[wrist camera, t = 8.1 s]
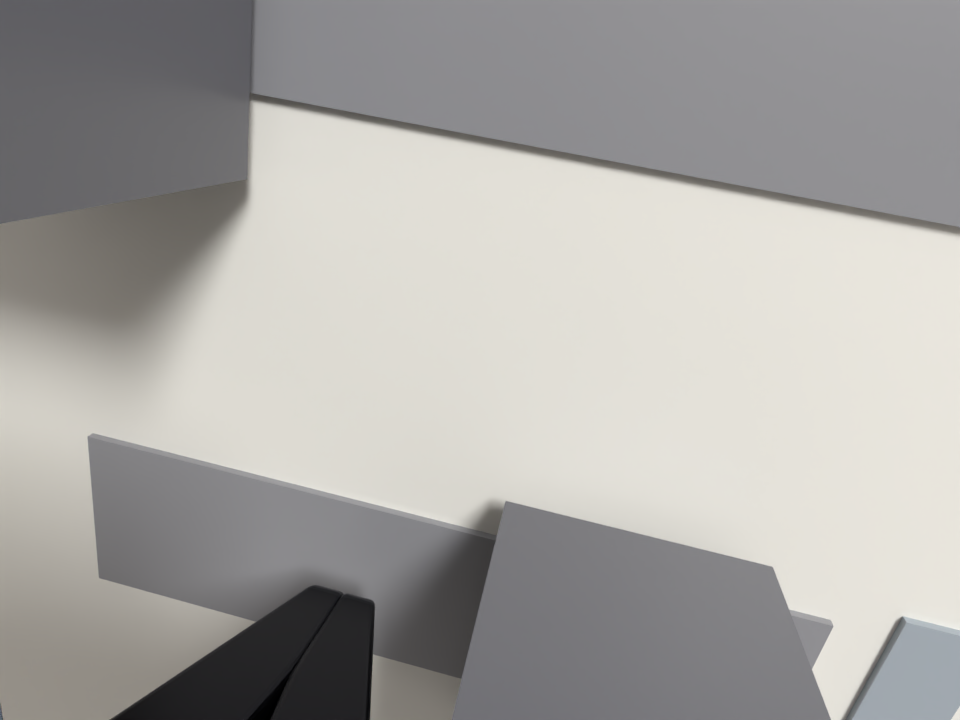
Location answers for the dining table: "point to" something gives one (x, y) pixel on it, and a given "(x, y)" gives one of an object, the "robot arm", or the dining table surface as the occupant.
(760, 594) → the grey block
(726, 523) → the switch board
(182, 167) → the grey plastic block
